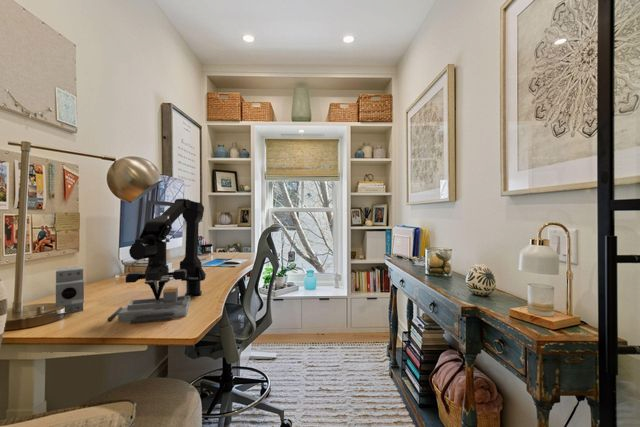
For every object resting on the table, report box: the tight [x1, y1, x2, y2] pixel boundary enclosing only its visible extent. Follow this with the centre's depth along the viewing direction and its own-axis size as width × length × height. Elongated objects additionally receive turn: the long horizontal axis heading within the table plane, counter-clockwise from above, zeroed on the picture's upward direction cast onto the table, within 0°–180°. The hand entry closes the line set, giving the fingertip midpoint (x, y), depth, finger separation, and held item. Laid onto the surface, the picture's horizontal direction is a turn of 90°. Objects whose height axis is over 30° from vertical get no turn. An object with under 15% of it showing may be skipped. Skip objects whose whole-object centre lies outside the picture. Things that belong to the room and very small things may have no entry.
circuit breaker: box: [55, 266, 85, 314], centre depth 111 cm, size 8×14×15 cm, turn 39°
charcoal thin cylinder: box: [129, 316, 173, 325], centre depth 100 cm, size 12×1×1 cm, turn 108°
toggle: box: [162, 286, 179, 302], centre depth 112 cm, size 5×4×5 cm
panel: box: [117, 295, 191, 323], centre depth 110 cm, size 16×20×4 cm
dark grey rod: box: [107, 306, 124, 322], centre depth 107 cm, size 12×1×1 cm, turn 18°
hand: (157, 299), depth 111 cm, fingers closed
